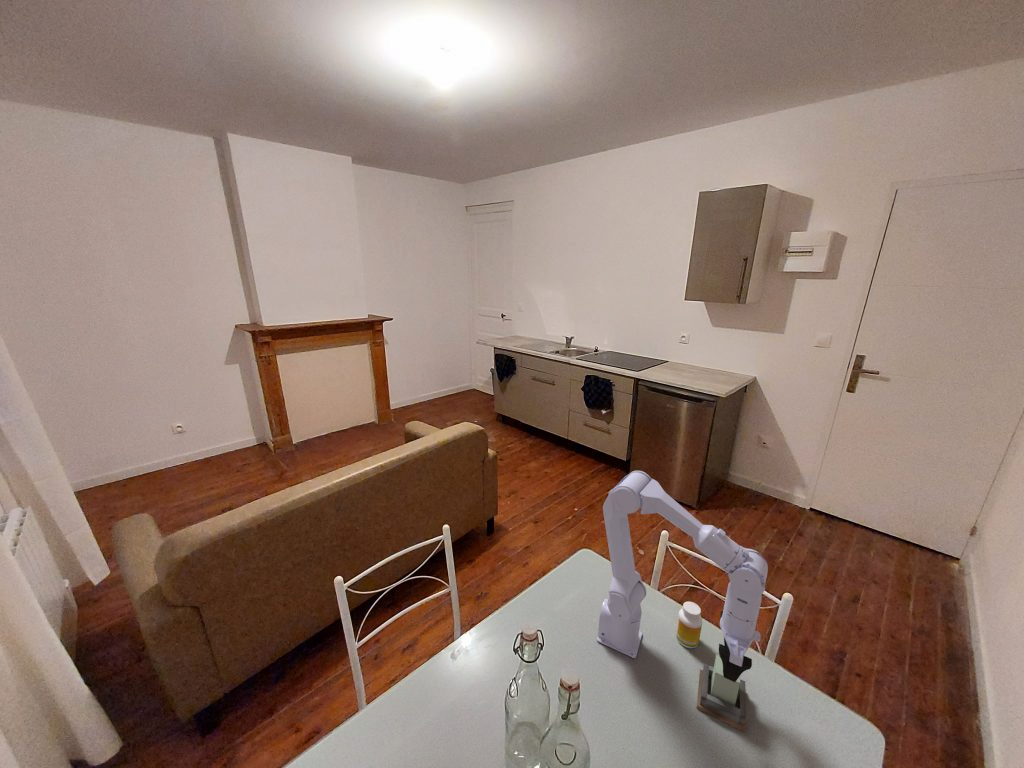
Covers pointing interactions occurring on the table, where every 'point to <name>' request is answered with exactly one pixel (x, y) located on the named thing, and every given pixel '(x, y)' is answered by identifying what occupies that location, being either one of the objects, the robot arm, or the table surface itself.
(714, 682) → the peg
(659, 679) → the table surface
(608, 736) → the table surface
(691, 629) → the supplement bottle
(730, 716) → the grey square socket
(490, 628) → the table surface
